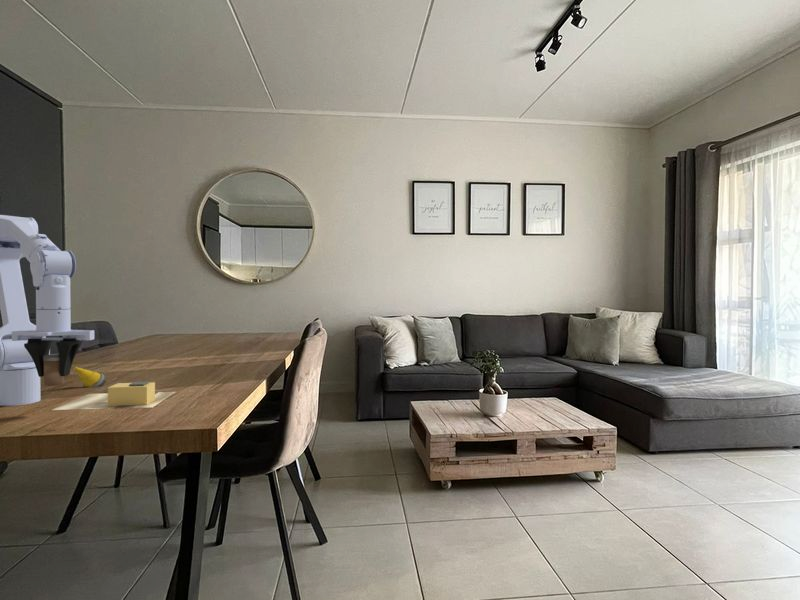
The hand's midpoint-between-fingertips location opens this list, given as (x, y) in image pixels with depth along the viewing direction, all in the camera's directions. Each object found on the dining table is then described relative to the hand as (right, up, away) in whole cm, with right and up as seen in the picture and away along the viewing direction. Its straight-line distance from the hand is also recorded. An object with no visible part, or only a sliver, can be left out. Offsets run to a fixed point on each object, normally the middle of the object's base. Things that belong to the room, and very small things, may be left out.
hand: (54, 375), depth 98 cm
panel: (+6, -9, +12) cm, 16 cm away
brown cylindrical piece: (0, -2, 0) cm, 2 cm away
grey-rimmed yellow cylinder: (-10, -9, +28) cm, 31 cm away
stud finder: (+11, -8, +10) cm, 16 cm away
